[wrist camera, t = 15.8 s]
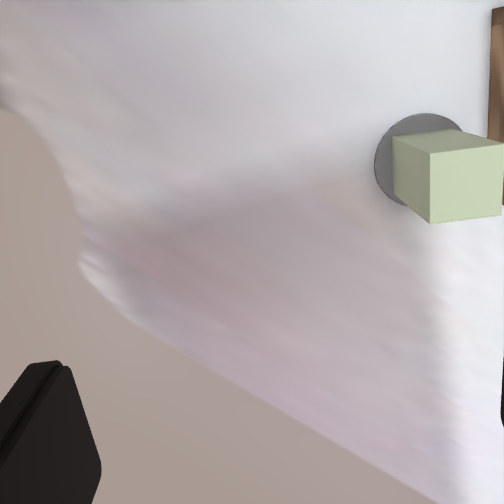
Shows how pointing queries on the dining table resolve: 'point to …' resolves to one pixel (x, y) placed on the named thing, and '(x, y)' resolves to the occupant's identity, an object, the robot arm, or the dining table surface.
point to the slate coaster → (402, 128)
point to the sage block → (448, 175)
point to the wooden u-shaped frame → (497, 80)
